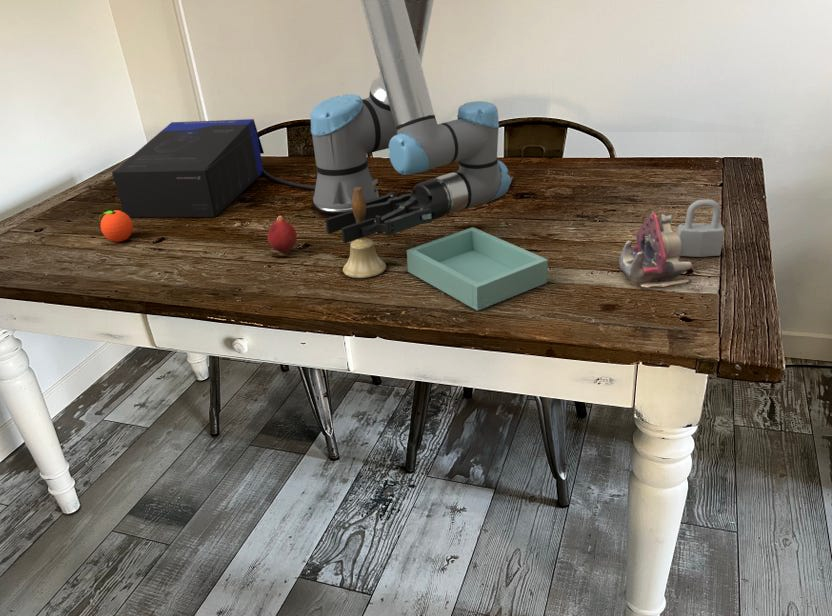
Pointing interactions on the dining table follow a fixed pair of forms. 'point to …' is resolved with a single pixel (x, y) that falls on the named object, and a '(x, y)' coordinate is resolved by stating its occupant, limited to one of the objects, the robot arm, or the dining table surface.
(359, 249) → the hand bell
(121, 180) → the headphone box
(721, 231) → the padlock
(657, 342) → the dining table surface
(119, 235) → the clementine
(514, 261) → the open box
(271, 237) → the onion
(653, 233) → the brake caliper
